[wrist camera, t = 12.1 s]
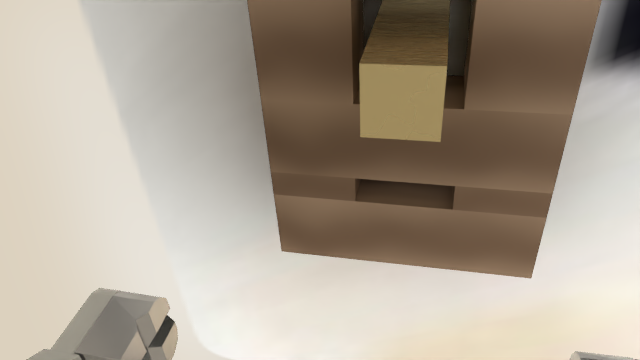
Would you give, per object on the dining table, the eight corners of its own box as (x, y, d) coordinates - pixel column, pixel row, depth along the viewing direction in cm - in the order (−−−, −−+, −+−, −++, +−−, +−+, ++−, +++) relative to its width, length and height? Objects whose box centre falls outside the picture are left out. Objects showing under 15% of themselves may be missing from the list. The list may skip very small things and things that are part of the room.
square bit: (384, -6, 25) (359, 63, 18) (450, -6, 24) (447, 66, 18) (384, 54, 26) (360, 137, 20) (444, 56, 26) (440, 142, 19)
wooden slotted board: (262, -98, 23) (235, -84, 21) (603, -109, 21) (625, -94, 18) (296, 214, 34) (281, 251, 31) (524, 235, 31) (531, 278, 28)
